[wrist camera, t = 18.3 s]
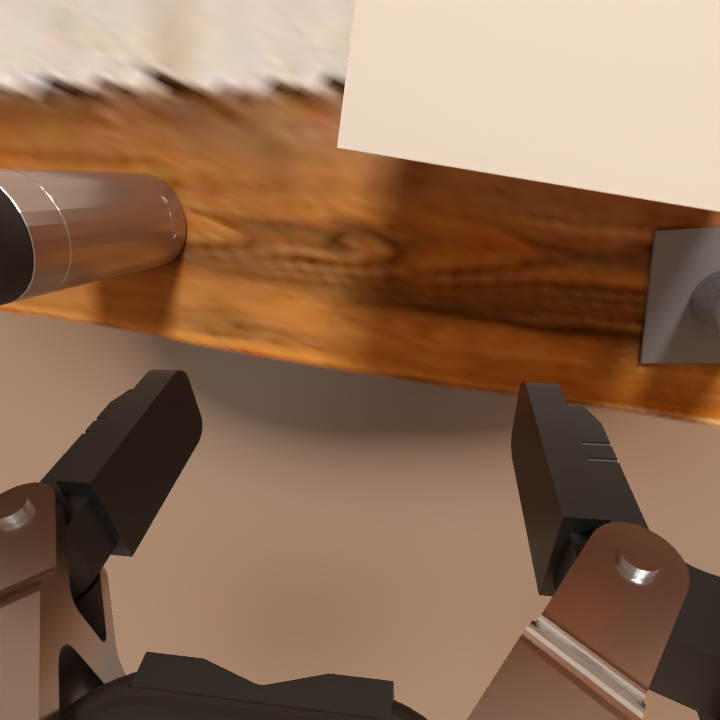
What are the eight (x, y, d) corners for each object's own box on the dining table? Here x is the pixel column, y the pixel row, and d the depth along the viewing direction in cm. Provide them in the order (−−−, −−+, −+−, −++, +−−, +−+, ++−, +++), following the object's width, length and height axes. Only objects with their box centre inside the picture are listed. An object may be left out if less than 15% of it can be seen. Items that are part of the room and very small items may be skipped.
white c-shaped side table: (411, 165, 39) (337, 147, 20) (449, -41, 34) (395, -320, 15) (720, 217, 35) (984, 255, 16) (822, -9, 29) (1402, -350, 11)
